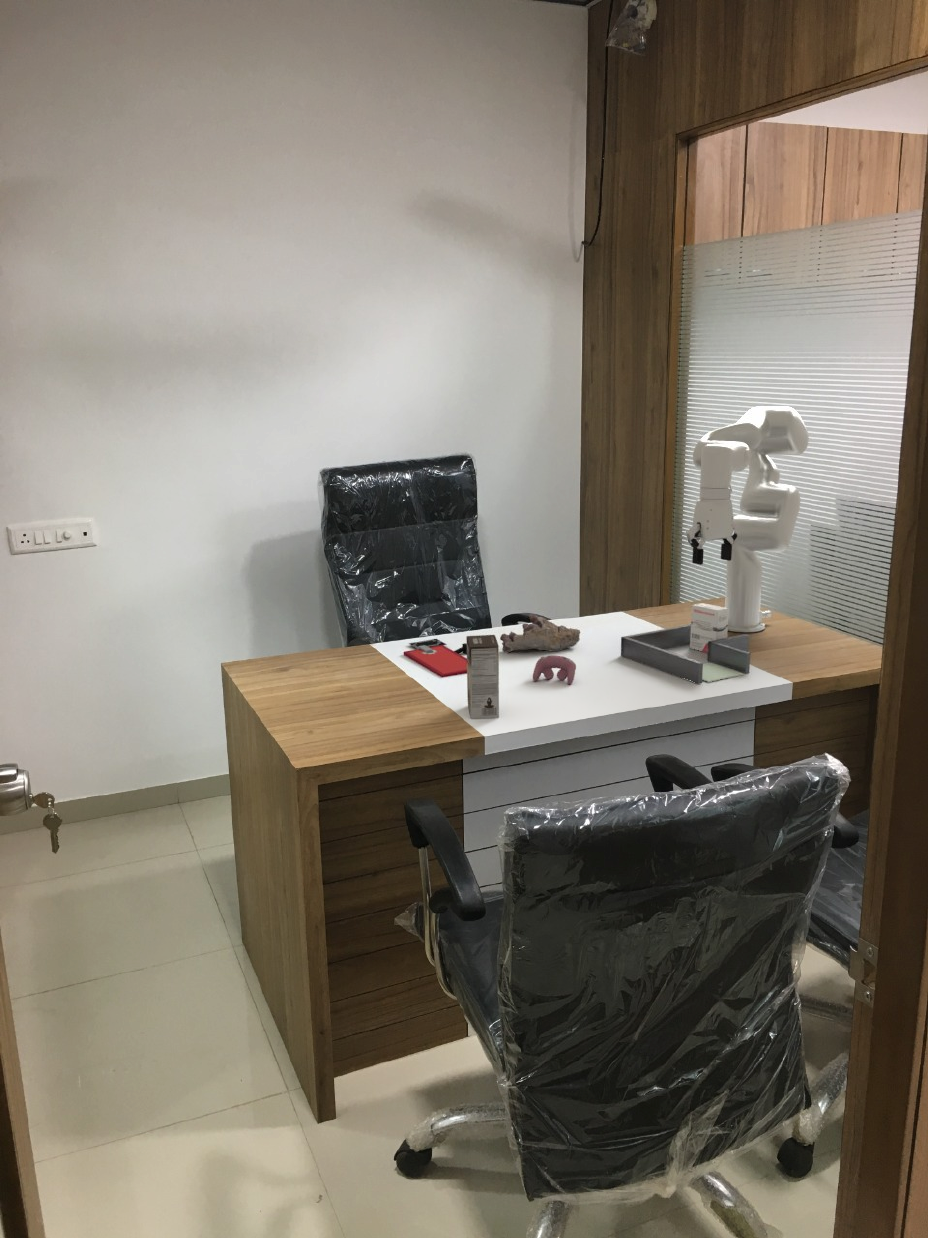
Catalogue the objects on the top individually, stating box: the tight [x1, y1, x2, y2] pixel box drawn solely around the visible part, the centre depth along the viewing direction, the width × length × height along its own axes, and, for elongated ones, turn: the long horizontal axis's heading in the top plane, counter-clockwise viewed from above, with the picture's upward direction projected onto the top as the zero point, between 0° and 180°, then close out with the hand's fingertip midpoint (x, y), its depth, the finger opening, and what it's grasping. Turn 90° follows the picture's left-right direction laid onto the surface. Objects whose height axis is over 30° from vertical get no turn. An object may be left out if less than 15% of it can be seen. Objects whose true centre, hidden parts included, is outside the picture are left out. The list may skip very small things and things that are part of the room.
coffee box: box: [466, 634, 500, 720], centre depth 216 cm, size 9×6×16 cm
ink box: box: [689, 602, 728, 654], centre depth 260 cm, size 8×5×12 cm, turn 39°
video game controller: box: [532, 654, 577, 686], centre depth 238 cm, size 10×5×7 cm, turn 71°
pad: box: [702, 662, 744, 683], centre depth 242 cm, size 11×11×1 cm
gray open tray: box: [620, 623, 751, 684], centre depth 252 cm, size 28×28×5 cm
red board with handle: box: [403, 638, 467, 678], centre depth 258 cm, size 30×3×15 cm
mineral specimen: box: [499, 613, 581, 654], centre depth 264 cm, size 20×10×10 cm
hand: (711, 561), depth 256 cm, fingers open, 9 cm apart
